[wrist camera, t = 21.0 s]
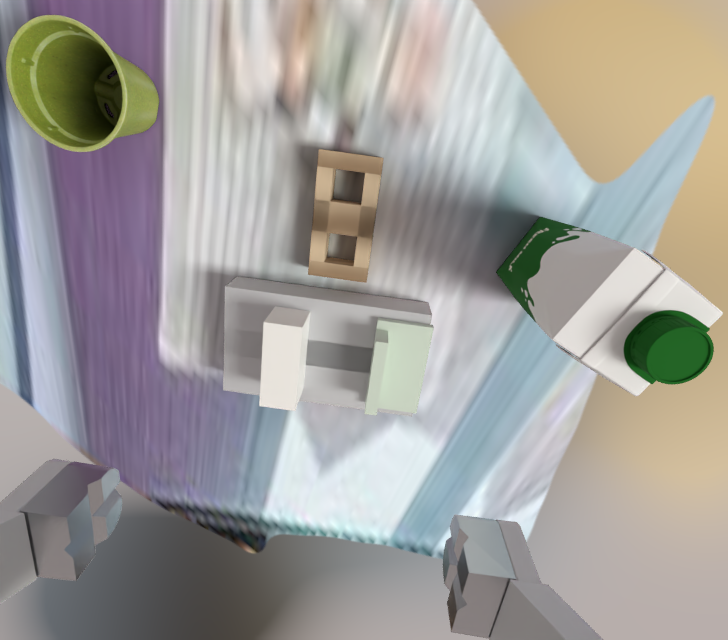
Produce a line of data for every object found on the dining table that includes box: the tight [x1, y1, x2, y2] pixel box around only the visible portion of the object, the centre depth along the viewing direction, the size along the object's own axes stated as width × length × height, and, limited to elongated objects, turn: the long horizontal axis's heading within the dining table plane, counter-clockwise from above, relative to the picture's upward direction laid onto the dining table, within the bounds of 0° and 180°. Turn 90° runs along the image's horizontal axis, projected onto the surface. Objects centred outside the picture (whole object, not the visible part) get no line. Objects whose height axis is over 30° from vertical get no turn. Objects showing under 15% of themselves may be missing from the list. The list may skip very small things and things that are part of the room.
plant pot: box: [6, 15, 159, 152], centre depth 38 cm, size 9×9×9 cm
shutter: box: [365, 318, 433, 415], centre depth 44 cm, size 10×6×4 cm, turn 173°
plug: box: [259, 306, 310, 411], centre depth 45 cm, size 9×4×7 cm, turn 173°
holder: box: [308, 149, 383, 283], centre depth 43 cm, size 12×6×2 cm, turn 173°
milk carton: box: [496, 217, 723, 396], centre depth 36 cm, size 9×9×20 cm
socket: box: [223, 276, 432, 416], centre depth 48 cm, size 12×21×4 cm, turn 83°
